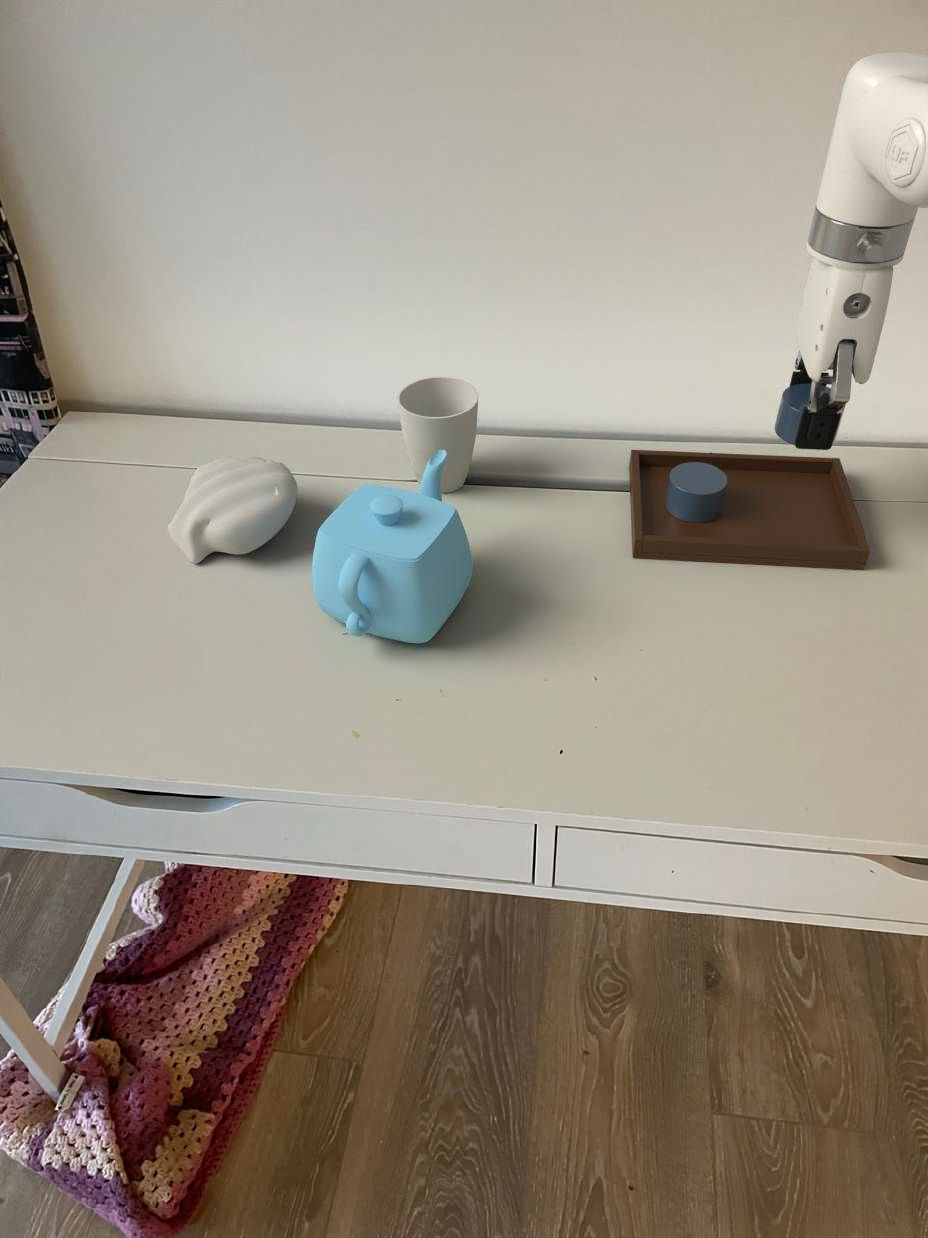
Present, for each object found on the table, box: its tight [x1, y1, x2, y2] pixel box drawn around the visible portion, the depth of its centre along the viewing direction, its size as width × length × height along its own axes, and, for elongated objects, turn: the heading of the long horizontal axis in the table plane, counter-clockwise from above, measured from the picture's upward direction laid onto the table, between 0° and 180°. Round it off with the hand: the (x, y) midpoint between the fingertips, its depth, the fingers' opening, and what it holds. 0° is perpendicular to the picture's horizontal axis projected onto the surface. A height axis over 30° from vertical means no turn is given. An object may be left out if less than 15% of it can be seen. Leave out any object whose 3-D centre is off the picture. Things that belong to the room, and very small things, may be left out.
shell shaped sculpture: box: [167, 456, 298, 565], centre depth 93 cm, size 13×13×6 cm
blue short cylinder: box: [665, 462, 727, 523], centre depth 94 cm, size 6×6×4 cm
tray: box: [628, 449, 871, 571], centre depth 94 cm, size 22×16×2 cm
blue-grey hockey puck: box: [774, 384, 847, 446], centre depth 87 cm, size 6×6×4 cm
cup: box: [396, 376, 479, 494], centre depth 97 cm, size 8×8×10 cm
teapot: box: [311, 450, 473, 644], centre depth 83 cm, size 12×18×12 cm
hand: (806, 427), depth 88 cm, fingers closed on blue-grey hockey puck, 5 cm apart
